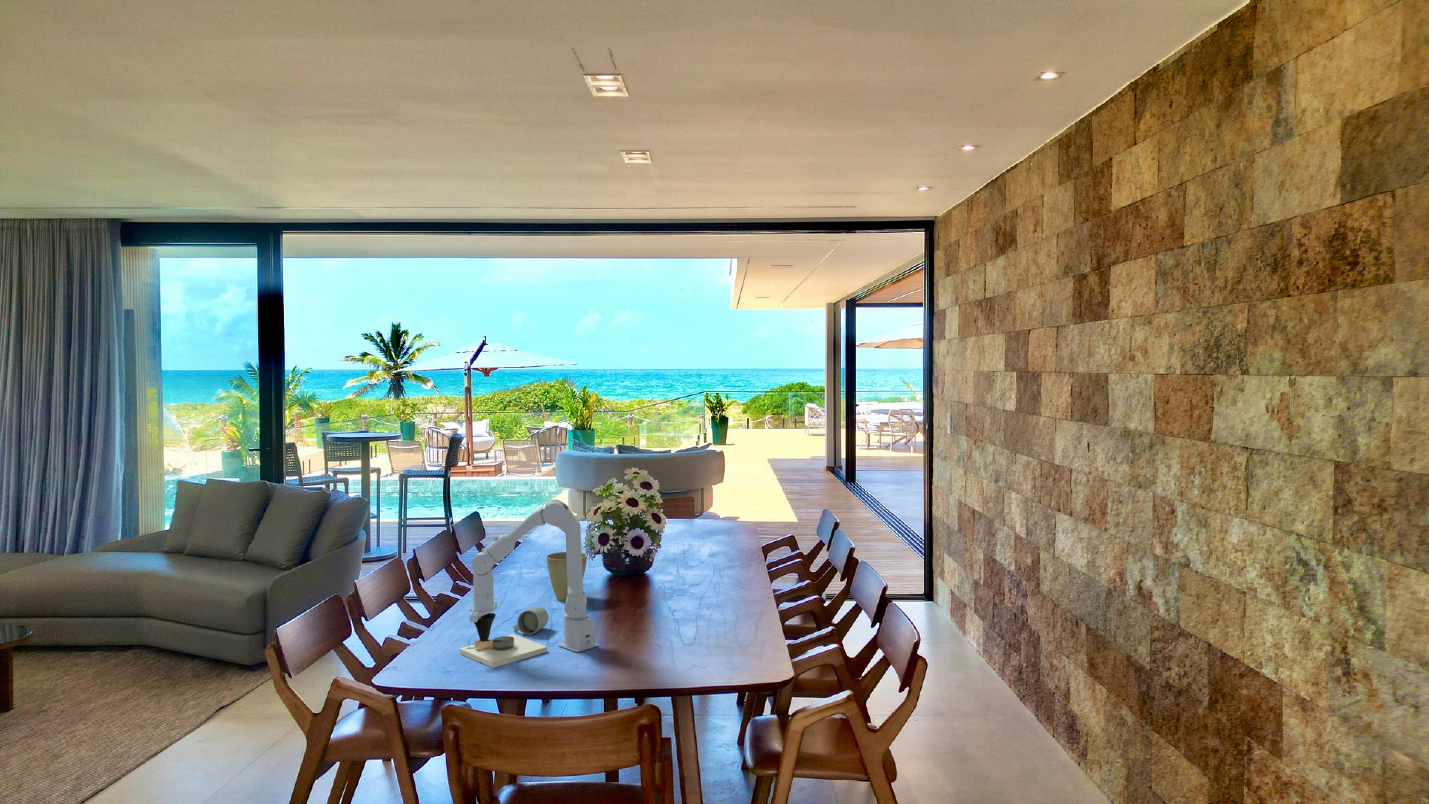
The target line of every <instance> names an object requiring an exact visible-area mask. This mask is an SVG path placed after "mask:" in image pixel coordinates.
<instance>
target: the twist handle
mask: <svg viewBox="0 0 1429 804" xmlns="http://www.w3.org/2000/svg"><path fill="white" fill-rule="evenodd" d="M474 644H475V648H489V647H493V648H494V649H499V650H503V649H509V648H512V647H513V646H514V638H513V637H511V636H508V635H504V636H503V635H502V636H497V637H495V638H493V639H488V640H480V639H479V640H478V639H477V640H474Z"/></svg>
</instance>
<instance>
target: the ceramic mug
mask: <svg viewBox="0 0 1429 804" xmlns="http://www.w3.org/2000/svg"><path fill="white" fill-rule="evenodd" d="M516 620H517V621H516V622H517V623H516V624H514V625H513V626H512V628H513V631H514V632H515V631H518V630H519V631H520V632H521V633H522V634H524V635H527V636H531V635H534V634H536V633H538V632H539V631H540V630H542V629H543V628H545V627H546V625H547V624H548V622H549V614H548V611H547V609H546V608H544V607H542V606H534V607H531V608H529V609H526V610H523V611H521V613H520V614H519V615H518V617H517V619H516Z"/></svg>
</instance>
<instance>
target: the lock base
mask: <svg viewBox="0 0 1429 804" xmlns="http://www.w3.org/2000/svg"><path fill="white" fill-rule="evenodd" d="M507 636H511V637H513V638H514V646H513V647H512V648H509V649H503V650H499V649H494V648H493V647H489V648H475V643H474V644H470V645H467V646H463V647H459V653H458V654H460V655H462V656H465V657H466V658H469V659H471V660H473V661H476V662H478V663H480V662H481V663H480V664H482V663H483V665H485V666H487V667H490V668H492V669H495V668H498V667H501V665H502V666H505V665H508V664H512V663H514V662H518V661H522V660H524V659H528V658H532V657H535V656H538V655H542V654H544V653H548V646H546V645H544V644H541V643H538V642H537V641H533V640H531V639H528V638H525V637H522V636H519V635H516V634H514V633H512V634H509V635H507ZM541 653H542V654H541Z"/></svg>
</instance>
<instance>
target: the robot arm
mask: <svg viewBox="0 0 1429 804" xmlns="http://www.w3.org/2000/svg"><path fill="white" fill-rule="evenodd" d="M580 523H581V522H580V521H579V520H578V519H577V517H576V516H575V514H574V513H573V511H572V510H571V508H570V507H569V506H568V505H567V504H566V503H565V502H563V501H561V500H559V499H550V500H549V501H548V502H546V504H545V505H544V504H543V505H542V506H540V507H538V508H537V509H536V510H534V511H533V512H531V513H530V515H528V516H527V517H526V518H525V519H524V520H523V521H522V522H521V523H520V524H519V525H517V526H516V527H515V528H514V529H513V530H512V531H510V532H509V533H508V534H500V535H496V536H495V537H494V538H493V541H492V542H491V543H490V544H489V545H487V546H486V547H482V549H481V552H478V553H477V554H476V555H475V557H474V558H473V560H472V562H471V569H472V571H473V574H472V575H473V579H472V581H473V582H472V584H473V585H472V587H473V589H472V590H473V591H472V593H473V595H472V596H473V607H471V608H470V609H469V612H471V614H470V615H469V623H473V625H475V626H474V627H475V628H476V632H477V635H478V638H479V640H489V638H490V633H491V629H492V625H493V622H494V620H495V617H496V615H497V614H496V613H494V612H495V610H497V608H498V602H497V601H494V599H495V598H494V597H495V595H494V594H495V592H494V587H495V586H494V575H493V574H494V573H493V571H494V569H493V567H494V565H495V564H498V563H500V562H501V561H502V560H503V559H504V558H506V557H507V556H508V555H509V554H510V553H512V552H513V551H514V550H515V546H516V542H518V541H519V540H520V539H521V538H522V537H524V536H525V535H526V534H528V533H529V532H531V530H532V529H533V528H535V527H539V526H545V525H546V524H548V525H550V526H553V527H557V528H558V529H560V531H561V532H563V533H564V534H565V552H566V558H567V583H568V595H567V598H566V601H565V605H564V614H563V639H564V640H563V642H560V643H558V644H557V645H558V646H559V647H561V648H564V649H566V650H569V651H572V652H575V653H580V652H582V651H585V650H589V649H593V648H596V647H598V646H599V644H598V643H597V642H596V640H597V639H596V638H597V637H596V633H597V632H596V631H597V630H596V624H595V622H594V621H593V620H592V619H591V618H590V616H589V612H588V611H587V603H588V598H587V595H586V594H585V592H584V581H583V580H584V577H583V576H582V553H583V552H582V532H581V531H582V530H581V529H582V528H581V524H580Z"/></svg>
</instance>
